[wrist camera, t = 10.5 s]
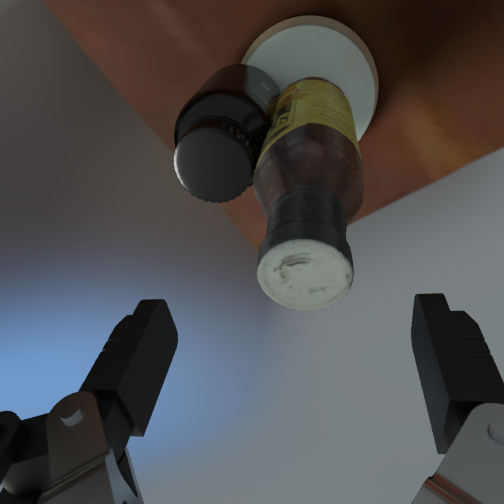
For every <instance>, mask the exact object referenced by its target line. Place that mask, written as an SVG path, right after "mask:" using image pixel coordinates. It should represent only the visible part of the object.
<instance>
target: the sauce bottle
mask: <svg viewBox="0 0 504 504" xmlns="http://www.w3.org/2000/svg"><path fill="white" fill-rule="evenodd" d="M363 187H364V184H363V177H362V161H361V156H360V151H359V146H358V141H357V135H356V130H355V124H354V119H353V115H352V110H351V106H350V103H349V101H348V99H347V98H346V96H345V95H344V92H343V91H342V90H341V89H340V87H338V86H337V85H335V84H334V83H332V82H330V81H329V80H326V79H324V78H320V77H306V78H302V79H300V80H298V81H296V82H294V83H291V84H290V85H289V86H288V87H287V88H286V89H285V90H284V91H283V92H282V94H281V95H280V96H279V97H278V102H277V106H276V111H275V115H274V119H273V123H272V126H271V128H270V130H269V132H268V133H267V135H266V138H265V140H264V142H263V145H262V148H261V151H260V155H259V159H258V162H257V166H256V170H255V174H254V192H255V195H256V197H257V200H258V202H259V204H260V206H261V209H262V211H263V213H264V216H265V218H266V220H267V223H266V224H267V233H266V237H265V238H264V240H263V242H262V244H261V246H260V249H259V254H258V263H257V277H258V282H259V284H260V286H261V287H262V289H263V291H264V293H266V294H267V295H268V296H269V297H270V298H271V299H273V300H274V301H275V302H277V303H279V304H280V305H282V306H284V307H288V308H291V309H294V310H302V311H309V310H316V309H317V310H318V309H322V308H325V307H328V306H332V305H333V304H334V303H336V302H338V301H340V300H341V299H342V298H343V297H344V296H345V295H346V294H347V293H348V291H349V289H350V287H351V285H352V282H353V276H354V270H353V260H352V254H351V250H350V247H349V244H348V242H347V241H346V227H347V226H348V225H349V224H350V223H351V221H353V219H354V218H355V216H356V214H357V212H358V211H359V210H360V207H361V204H362V202H363V192H364V189H363Z"/></svg>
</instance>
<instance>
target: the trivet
mask: <svg viewBox="0 0 504 504" xmlns="http://www.w3.org/2000/svg"><path fill="white" fill-rule="evenodd" d="M241 64H247V65H252V66H255V67H257V68H259V69H261V70H263V71H264V72H266V73H267V74H268V75H269V76H270V77H271V78H272V79H273V80H274V81H275V83H276V84H277V86H278V88H279V90H280V92H281V94H282V92H283V91H284V90H285V89H286V88H287V87H288V86H289V85H290V84H291V83H294V82H296V81H298V80H300V79H302V78H306V77H320V78H324V79H326V80H329V81H330V82H332V83H334V84H335V85H337V86H338V87H340V89H341V90H342V91H343V92H344V95H345V96H346V98H347V99H348V101H349V103H350V106H351V110H352V115H353V119H354V124H355V130H356V135H357V141H359V140H360V138H361V137H362V135H363V134H364V132H365V131H366V129H367V127H368V125H369V123H370V121H371V120H372V117H373V115H374V112H375V109H376V105H377V100H378V90H379V86H378V75H377V69H376V66H375V63H374V60H373V57H372V55H371V53H370V51H369V49H368V48H367V46H366V45H365V43H364V42H363V40H362V39H361V38H360V37H359V36H358V35H357V34H356V33H355V32H354V31H353V30H351V29H350V28H349V27H348V26H346V25H344V24H342V23H341V22H339V21H336V20H334V19H331V18H328V17H323V16H318V15H303V16H296V17H292V18H288V19H286V20H283V21H281V22H279V23H277V24H275V25H273V26H272V27H270V28H269V29H267V30H266V31H265V32H263V33H262V34H261V35H260V36H259V37H258V38H257V39H256V40H255V41H254V43H253V44H252V45H251V47H250V48H249V49H248V51H247V52H246V54H245V56H244V58H243V59H242V62H241Z"/></svg>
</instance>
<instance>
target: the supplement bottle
mask: <svg viewBox="0 0 504 504" xmlns="http://www.w3.org/2000/svg"><path fill="white" fill-rule="evenodd" d="M280 95H281V92H280V90H279V88H278V86H277V84H276V83H275V81H274V80H273V79H272V78H271V77H270V76H269V75H268V74H267V73H266V72H264V71H263V70H261V69H259V68H257V67H255V66H252V65H247V64H234V65H230V66H227V67H224V68H222V69H221V70H219V71H217V72H216V73H215V74H214V75H213V76H212V77H211V78H209V80H208V81H207V82H206V83H205V84H204V85H203V86H202V87H201V88H200V89H199V90H198V91H197V92H196V93H195V94H194V95H193V96H192V98H191V99H190V100H189V101H188V102H187V103H186V104H185V106H184V107H183V108H182V110H181V111H180V113H179V115H178V117H177V120H176V123H175V128H174V145H175V152H174V154H173V158H174V161H173V165H174V171H175V173H176V175H177V178H178V179H179V180H180V184H181V185H182V186H184V188H185V190H187V191H189V192H190V193H191V194H192V195H194V196H196V197H197V198H198V199H203V200H204V201H210V202H212V203H215V202H218V203H222V202H228V201H229V200H233V199H235V198H236V197H237V196H240V195H241V194H242V192H244V191H245V190H246V188H247V187H250V186H252V185H253V184H254V174H255V170H256V166H257V162H258V159H259V155H260V151H261V148H262V145H263V142H264V140H265V138H266V135H267V133H268V132H269V130H270V128H271V126H272V123H273V119H274V115H275V111H276V106H277V102H278V97H279V96H280Z"/></svg>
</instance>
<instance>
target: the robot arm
mask: <svg viewBox="0 0 504 504" xmlns="http://www.w3.org/2000/svg"><path fill="white" fill-rule="evenodd" d="M411 341H412V347H413V353H414V357H415V361H416V365H417V369H418V373H419V377H420V381H421V386H422V390H423V394H424V398H425V402H426V406H427V411H428V415H429V419H430V423H431V427H432V431H433V435H434V439H435V444H436V448H437V452H438V454H446V455H445V457H444V458H443V460H442V462H441V463H440V465H439V467H438V468H437V470H436V472H435V473H434V475H433V476H432V477H428V478H427V479H426V481H425V482H424V483H423V485H422V486H421V488H420V490H419V491H418V493H417V495H416V496H415V498H414V500H413V501H412V503H411V504H504V382H503V380H502V378H501V376H500V373H499V371H498V369H497V366H496V364H495V362H494V359H493V357H492V355H490V351H489V348H488V346H487V344H486V342H485V340H484V337H483V334H482V332H481V330H480V328H479V325H478V324H477V323H476V322H475V321H474V320H473V319H472V318H471V317H470V316H469V315H468V314H467V313H466V312H465V311H450V309H449V306H448V303H447V301H446V298H445V296H444V295H443V294H442V293H434V294H416V295H415V299H414V307H413V317H412V327H411ZM177 344H178V333H177V329H176V326H175V324H174V321H173V318H172V316H171V313H170V311H169V308H168V305H167V303H166V301H165V300H164V299H151V300H141V301H140V302H139V304H138V305H137V307H136V309H135V311H134V313H133V315H127V316H126V317H125V318H123V319H122V320H121V321H120V322H119V323H118V324H117V325H116V326H115V328H114V330H113V332H112V333H111V335H110V337H109V338H108V341H107V342H106V344H105V345H104V347H103V349H102V350H103V351H102V352H101V353H100V354H99V356H98V358H97V360H96V361H95V363H94V365H93V367H92V368H91V370H90V372H89V374H88V375H87V377H86V379H85V381H84V382H83V384H82V386H81V388H80V389H79V391H78V392H75V393H72V394H70V395H68V396H66V397H64V398H63V399H61V400H60V401H59V402H58V403H57V404H56V405H55V406H54V407H53V408H52V410H51V411H50V413H47V414H43V415H40V416H36V417H32V418H29V419H25V420H21V419H20V418H19V417H18V416H17V415H16V413H14V412H11V411H2V412H0V485H2V486H3V489H2V491H1V492H0V504H144V502H143V499H142V496H141V492H140V489H139V485H138V483H137V479H136V475H135V472H134V468H133V465H132V462H131V458H130V455H129V451H128V449H127V447H126V445H127V443H128V440H129V437H130V436H138V437H139V436H140V437H143V436H144V434H145V431H146V428H147V426H148V423H149V420H150V418H151V415H152V412H153V410H154V407H155V404H156V402H157V399H158V396H159V394H160V391H161V388H162V386H163V383H164V380H165V377H166V375H167V372H168V370H169V367H170V364H171V362H172V359H173V356H174V354H175V350H176V348H177Z"/></svg>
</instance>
